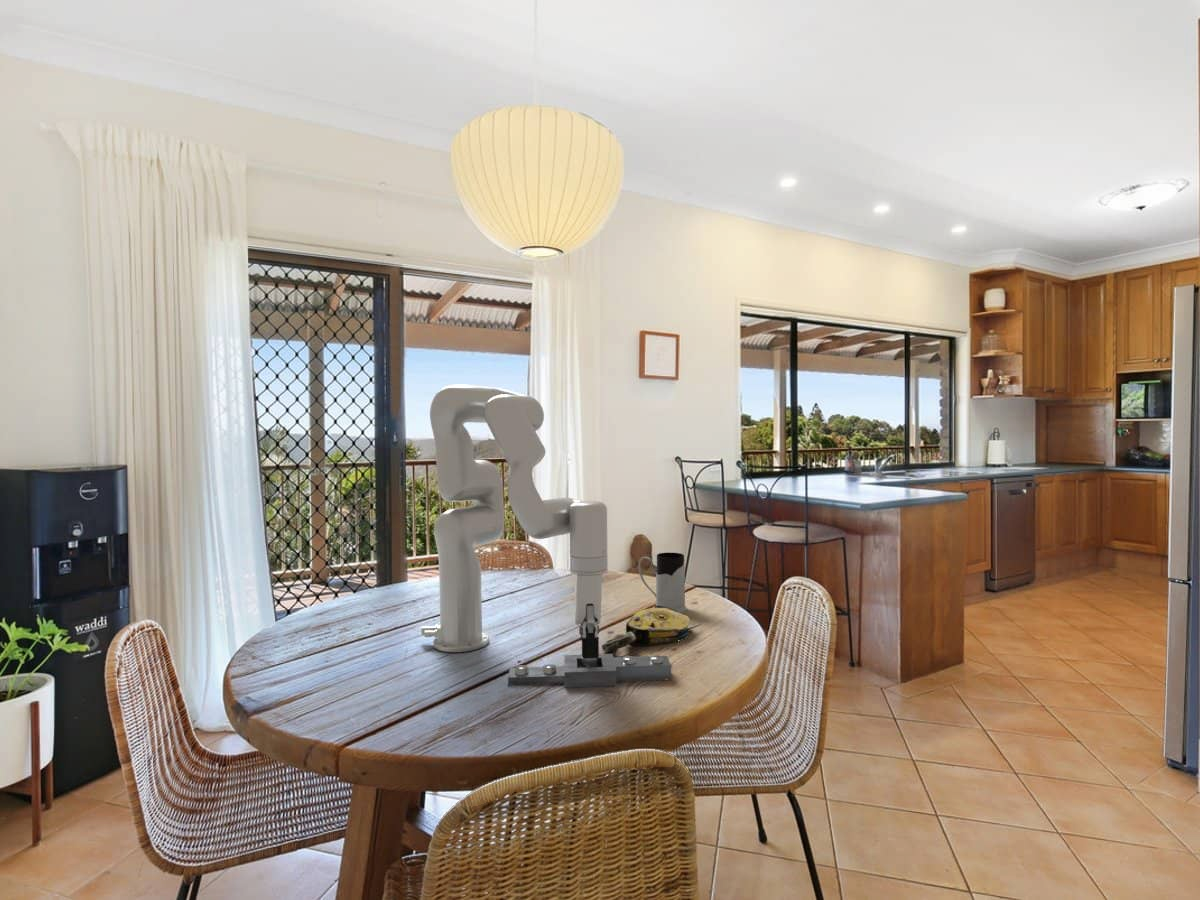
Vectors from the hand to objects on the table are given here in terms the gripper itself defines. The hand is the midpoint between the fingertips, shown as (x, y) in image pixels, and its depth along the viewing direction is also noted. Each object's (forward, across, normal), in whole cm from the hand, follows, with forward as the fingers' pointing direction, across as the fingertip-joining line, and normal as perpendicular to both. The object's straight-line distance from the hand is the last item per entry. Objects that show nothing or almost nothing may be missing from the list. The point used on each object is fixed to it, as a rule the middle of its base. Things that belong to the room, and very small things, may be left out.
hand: (589, 648), depth 122 cm
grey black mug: (+6, -47, +22) cm, 52 cm away
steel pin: (+6, 0, 0) cm, 6 cm away
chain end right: (+6, 0, +5) cm, 8 cm away
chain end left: (+6, 0, -6) cm, 8 cm away
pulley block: (+6, -22, +14) cm, 27 cm away
